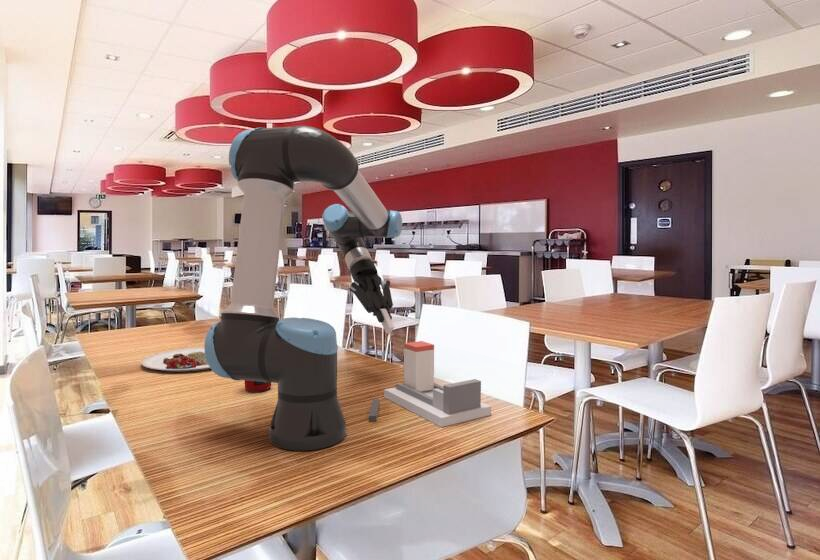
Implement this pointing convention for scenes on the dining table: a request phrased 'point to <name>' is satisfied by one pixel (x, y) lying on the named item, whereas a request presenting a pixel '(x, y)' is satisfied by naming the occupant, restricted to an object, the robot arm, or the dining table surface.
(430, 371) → the toggle
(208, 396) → the dining table surface
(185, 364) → the plated food
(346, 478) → the dining table surface
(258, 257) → the robot arm
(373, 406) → the gray rectangular bar
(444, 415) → the gray railed slide base
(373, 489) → the dining table surface
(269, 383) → the beverage can
